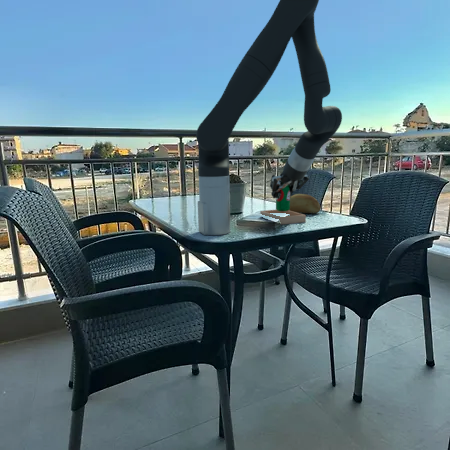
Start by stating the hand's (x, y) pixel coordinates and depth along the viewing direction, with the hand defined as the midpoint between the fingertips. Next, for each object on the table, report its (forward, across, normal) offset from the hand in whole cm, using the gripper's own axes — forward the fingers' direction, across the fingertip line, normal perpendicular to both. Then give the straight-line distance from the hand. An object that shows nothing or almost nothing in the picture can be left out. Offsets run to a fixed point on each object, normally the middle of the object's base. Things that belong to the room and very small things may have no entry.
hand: (280, 195), depth 117 cm
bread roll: (+11, -13, +2) cm, 17 cm away
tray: (+5, 0, +7) cm, 9 cm away
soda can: (+2, 0, +5) cm, 6 cm away
